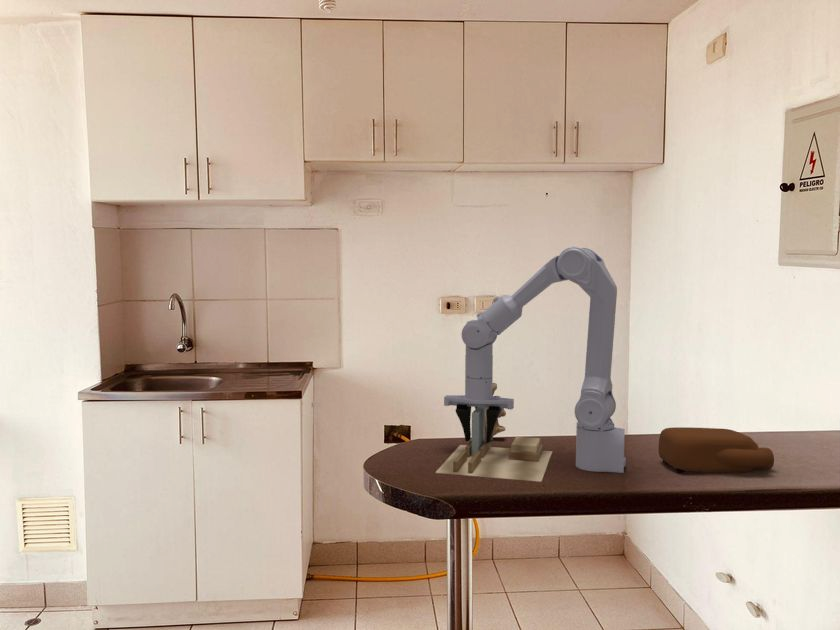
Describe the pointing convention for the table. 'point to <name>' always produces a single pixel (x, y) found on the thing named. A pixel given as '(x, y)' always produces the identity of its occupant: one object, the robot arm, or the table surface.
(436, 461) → the table surface
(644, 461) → the table surface
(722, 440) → the toy
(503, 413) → the figurine
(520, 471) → the rack
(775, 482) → the table surface
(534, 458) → the plate
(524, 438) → the offcut top
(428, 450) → the table surface
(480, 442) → the grey blue slab
